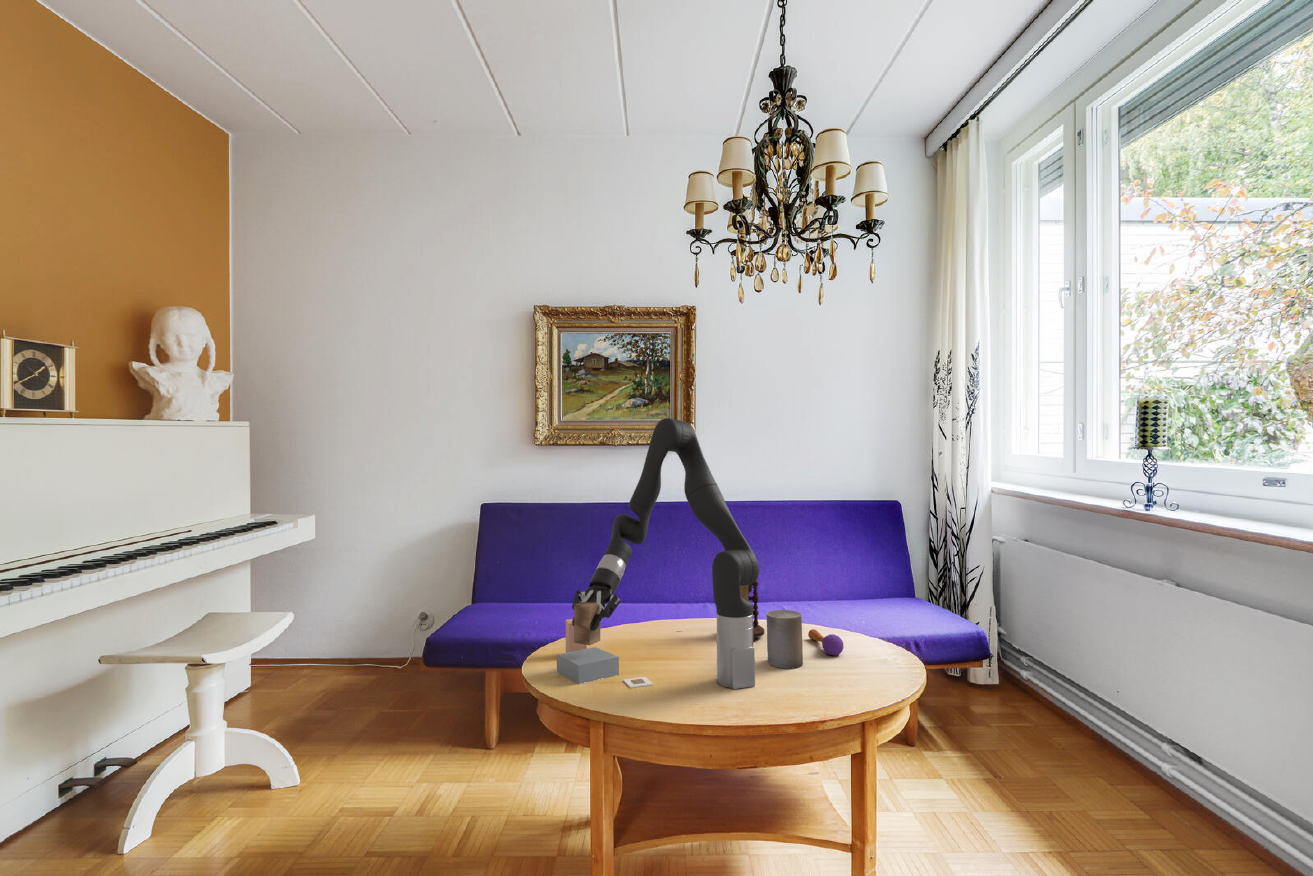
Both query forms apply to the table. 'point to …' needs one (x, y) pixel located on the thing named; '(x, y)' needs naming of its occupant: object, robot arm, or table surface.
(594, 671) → the slate slab
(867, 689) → the table surface
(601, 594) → the robot arm
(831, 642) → the purple maraca
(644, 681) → the card
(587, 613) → the walnut block
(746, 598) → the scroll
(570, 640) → the terracotta block
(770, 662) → the pillar candle
